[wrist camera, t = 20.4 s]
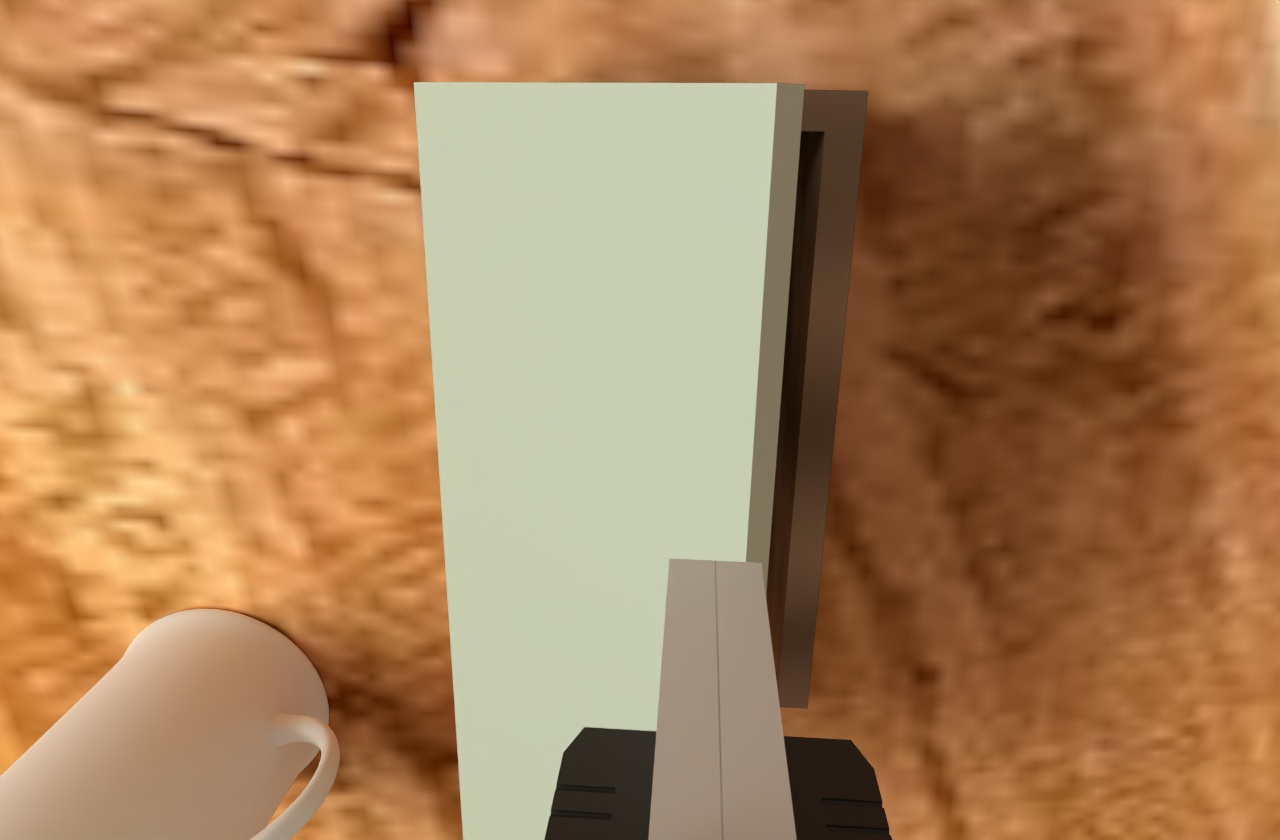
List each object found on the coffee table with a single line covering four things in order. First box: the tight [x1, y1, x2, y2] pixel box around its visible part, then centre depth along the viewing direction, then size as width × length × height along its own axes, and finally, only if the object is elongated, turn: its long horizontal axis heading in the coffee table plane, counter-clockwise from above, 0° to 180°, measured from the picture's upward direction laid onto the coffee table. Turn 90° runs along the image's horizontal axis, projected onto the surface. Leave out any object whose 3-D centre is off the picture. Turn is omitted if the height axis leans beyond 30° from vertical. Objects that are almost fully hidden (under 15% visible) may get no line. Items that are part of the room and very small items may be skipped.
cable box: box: [766, 90, 868, 709], centre depth 27 cm, size 17×9×7 cm, turn 179°
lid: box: [414, 82, 805, 840], centre depth 21 cm, size 24×10×2 cm
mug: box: [0, 609, 340, 840], centre depth 30 cm, size 12×8×12 cm
